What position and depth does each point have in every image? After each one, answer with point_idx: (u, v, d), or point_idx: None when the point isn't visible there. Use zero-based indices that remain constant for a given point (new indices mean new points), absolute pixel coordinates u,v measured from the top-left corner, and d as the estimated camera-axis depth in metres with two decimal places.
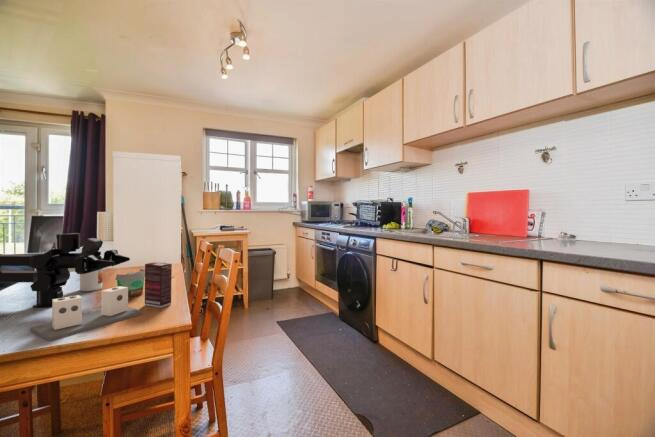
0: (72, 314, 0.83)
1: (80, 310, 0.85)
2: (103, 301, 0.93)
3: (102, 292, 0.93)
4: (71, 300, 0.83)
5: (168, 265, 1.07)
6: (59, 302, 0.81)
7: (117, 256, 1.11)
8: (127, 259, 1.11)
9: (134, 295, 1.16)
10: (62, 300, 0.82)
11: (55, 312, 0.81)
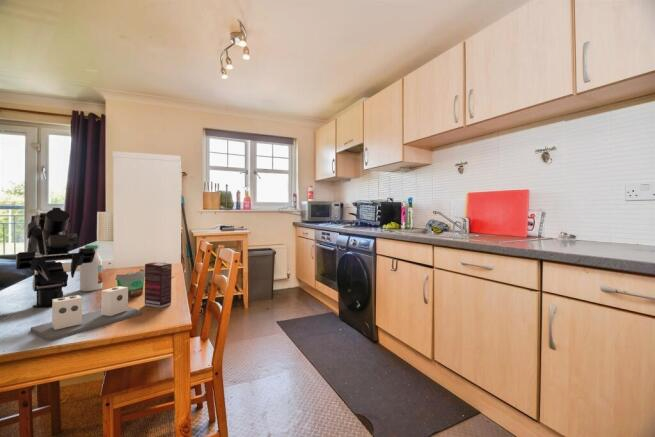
0: (72, 314, 0.83)
1: (80, 310, 0.85)
2: (103, 301, 0.93)
3: (102, 292, 0.93)
4: (71, 300, 0.83)
5: (168, 265, 1.07)
6: (59, 302, 0.81)
7: (72, 263, 0.94)
8: (71, 275, 0.93)
9: (134, 295, 1.16)
10: (62, 300, 0.82)
11: (55, 312, 0.81)
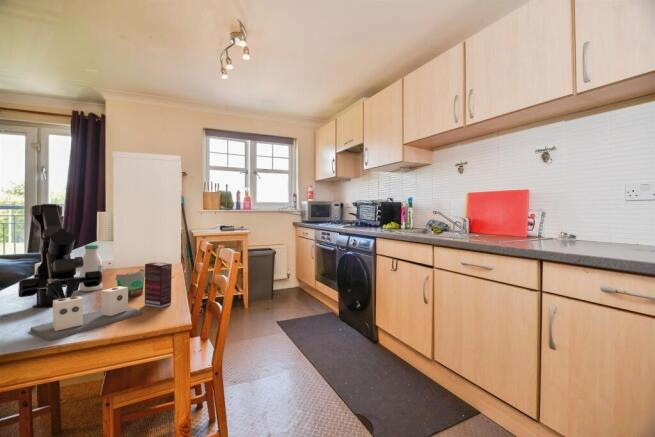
0: (73, 315, 0.83)
1: (81, 311, 0.84)
2: (103, 301, 0.93)
3: (102, 292, 0.93)
4: (72, 301, 0.82)
5: (168, 265, 1.07)
6: (60, 303, 0.80)
7: (67, 290, 0.87)
8: None
9: (134, 295, 1.16)
10: (63, 301, 0.81)
11: (56, 313, 0.80)
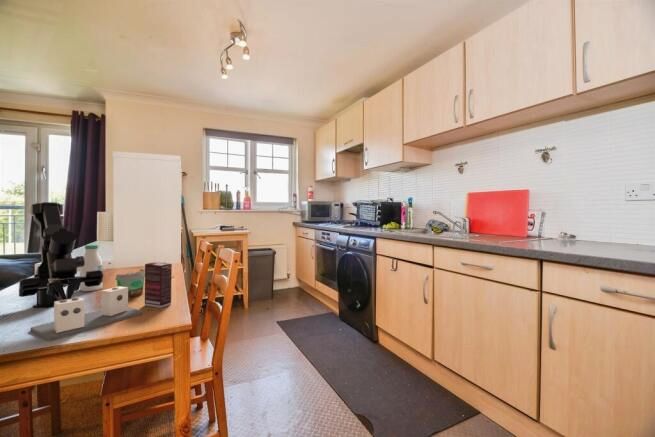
0: (74, 317, 0.82)
1: (82, 312, 0.83)
2: (103, 301, 0.93)
3: (102, 292, 0.93)
4: (73, 302, 0.81)
5: (168, 265, 1.07)
6: (61, 304, 0.79)
7: (67, 290, 0.86)
8: None
9: (134, 295, 1.16)
10: (64, 302, 0.80)
11: (57, 315, 0.79)
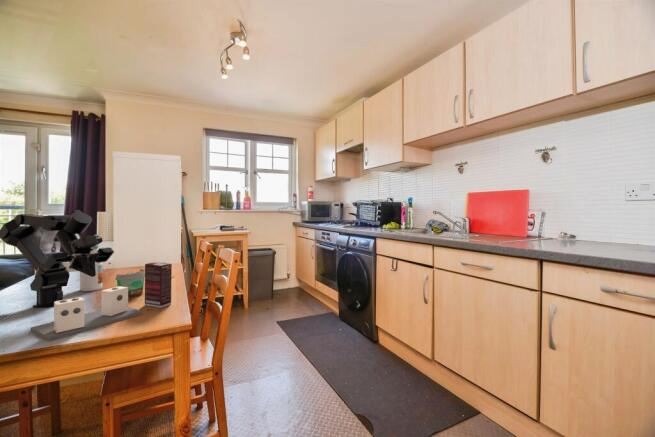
0: (74, 317, 0.82)
1: (82, 312, 0.83)
2: (103, 301, 0.93)
3: (102, 292, 0.93)
4: (73, 302, 0.81)
5: (168, 265, 1.07)
6: (61, 304, 0.79)
7: (90, 263, 0.99)
8: None
9: (134, 295, 1.16)
10: (64, 302, 0.80)
11: (57, 315, 0.79)
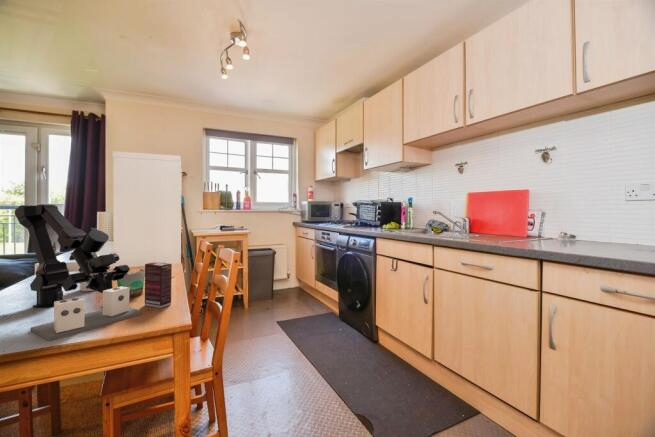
0: (74, 317, 0.82)
1: (82, 312, 0.83)
2: (104, 301, 0.92)
3: (103, 292, 0.92)
4: (73, 302, 0.81)
5: (168, 265, 1.07)
6: (61, 304, 0.79)
7: (107, 283, 0.97)
8: None
9: (134, 295, 1.16)
10: (64, 302, 0.80)
11: (57, 315, 0.79)
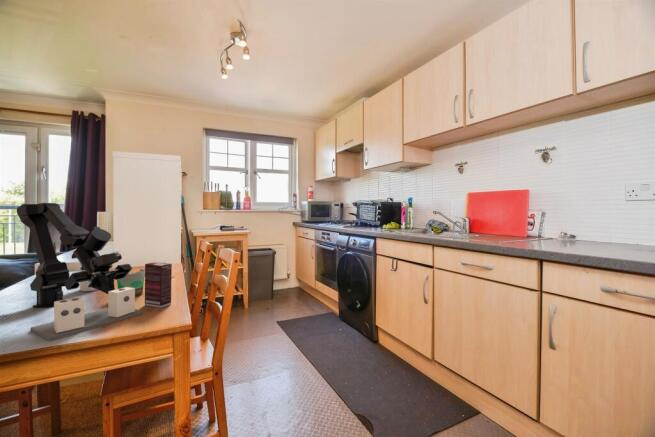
0: (74, 317, 0.82)
1: (82, 312, 0.83)
2: (109, 302, 0.92)
3: (109, 293, 0.92)
4: (73, 302, 0.81)
5: (168, 265, 1.07)
6: (61, 304, 0.79)
7: (109, 282, 0.96)
8: None
9: None
10: (64, 302, 0.80)
11: (57, 315, 0.79)
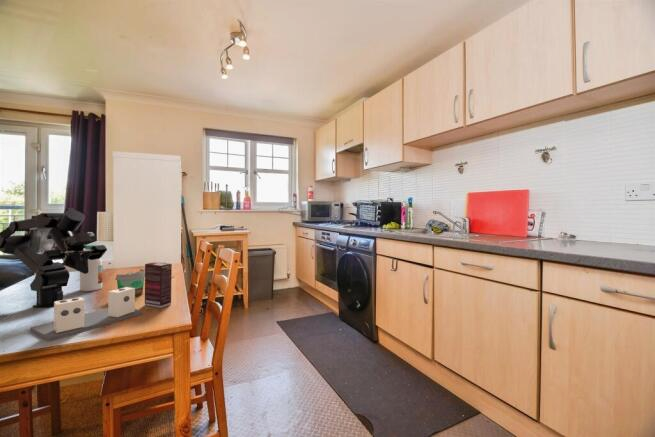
0: (74, 317, 0.82)
1: (82, 312, 0.83)
2: (109, 302, 0.92)
3: (109, 293, 0.92)
4: (73, 302, 0.81)
5: (168, 265, 1.07)
6: (61, 304, 0.79)
7: (83, 260, 1.00)
8: None
9: None
10: (64, 302, 0.80)
11: (57, 315, 0.79)
